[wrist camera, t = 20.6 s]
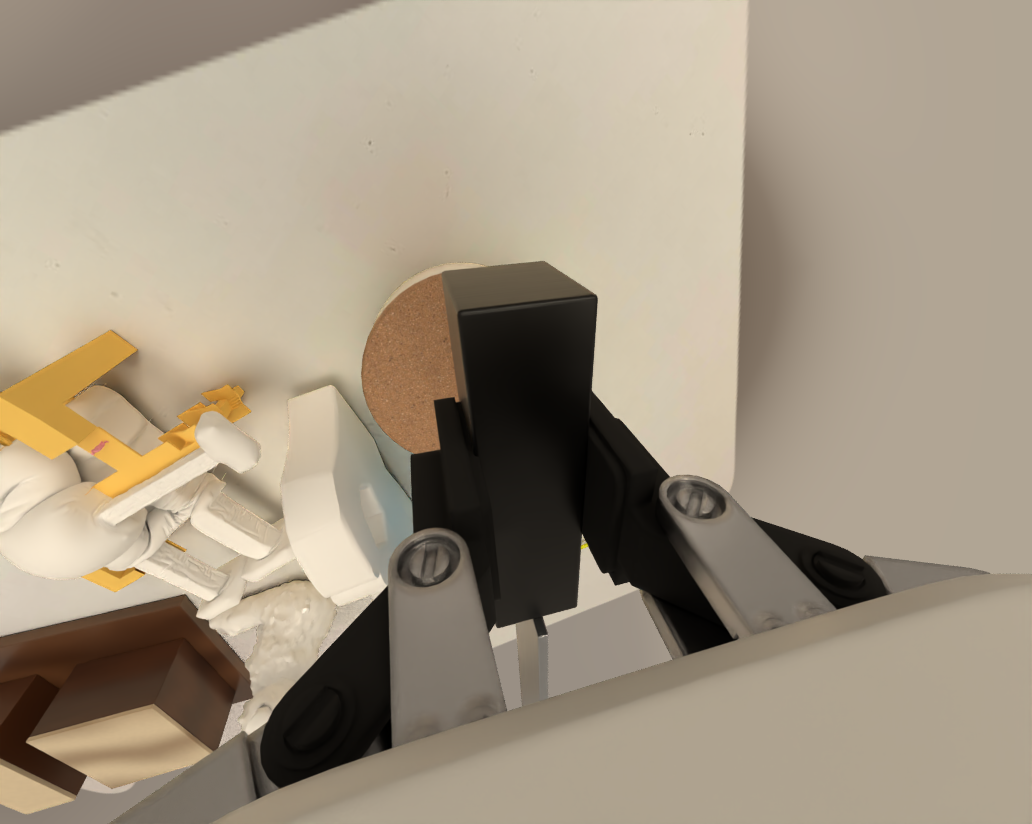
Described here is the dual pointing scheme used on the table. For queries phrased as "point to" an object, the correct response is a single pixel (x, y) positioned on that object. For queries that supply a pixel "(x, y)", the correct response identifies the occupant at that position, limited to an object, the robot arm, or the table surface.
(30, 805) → the wooden step piece
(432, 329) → the trinket box
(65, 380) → the figure
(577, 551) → the tall black pillar
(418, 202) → the table surface
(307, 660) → the white creature statuette
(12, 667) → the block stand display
